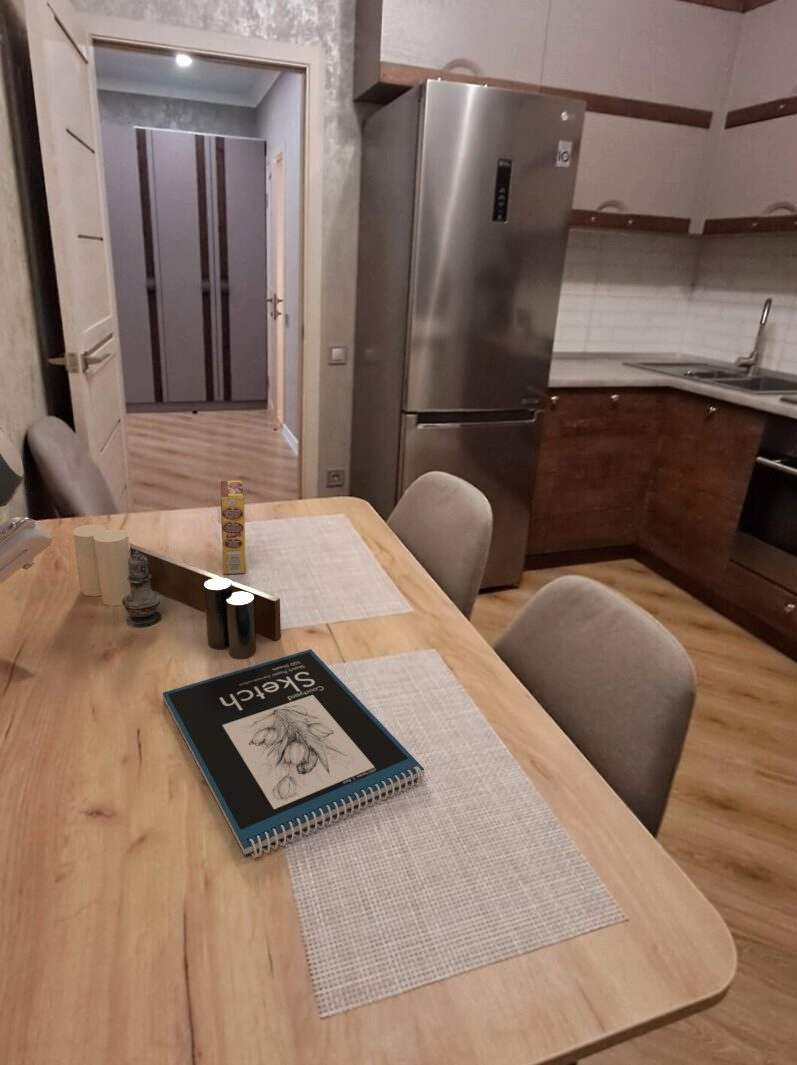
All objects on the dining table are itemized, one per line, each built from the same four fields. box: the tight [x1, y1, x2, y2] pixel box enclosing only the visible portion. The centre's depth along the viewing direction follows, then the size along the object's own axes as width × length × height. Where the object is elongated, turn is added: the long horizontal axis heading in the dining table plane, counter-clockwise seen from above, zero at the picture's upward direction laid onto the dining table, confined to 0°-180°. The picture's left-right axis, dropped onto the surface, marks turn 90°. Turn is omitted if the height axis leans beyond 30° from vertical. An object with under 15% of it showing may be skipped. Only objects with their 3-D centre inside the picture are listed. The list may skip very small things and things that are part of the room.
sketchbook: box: [162, 648, 425, 860], centre depth 81 cm, size 22×30×2 cm
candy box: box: [219, 479, 246, 575], centre depth 123 cm, size 9×4×15 cm, turn 14°
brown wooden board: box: [129, 542, 282, 642], centre depth 110 cm, size 38×1×7 cm, turn 59°
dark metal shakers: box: [204, 577, 257, 660], centre depth 98 cm, size 8×4×10 cm, turn 59°
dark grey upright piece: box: [122, 550, 163, 628], centre depth 104 cm, size 6×6×12 cm
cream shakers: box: [71, 523, 131, 607], centre depth 111 cm, size 11×5×12 cm, turn 59°
